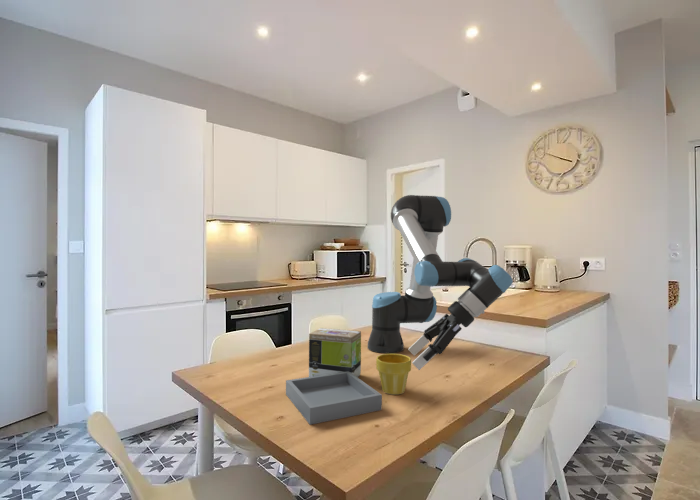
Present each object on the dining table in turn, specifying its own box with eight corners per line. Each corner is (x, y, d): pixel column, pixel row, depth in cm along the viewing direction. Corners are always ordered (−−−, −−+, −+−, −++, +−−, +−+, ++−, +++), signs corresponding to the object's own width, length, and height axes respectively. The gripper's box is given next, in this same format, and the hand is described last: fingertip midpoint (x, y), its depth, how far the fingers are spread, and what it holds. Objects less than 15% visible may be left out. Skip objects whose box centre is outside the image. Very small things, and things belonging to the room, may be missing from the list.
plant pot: (373, 384, 117) (374, 353, 117) (406, 383, 118) (406, 352, 118) (378, 397, 106) (379, 363, 106) (414, 397, 107) (415, 363, 107)
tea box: (361, 374, 126) (362, 330, 125) (351, 384, 116) (352, 337, 116) (320, 368, 131) (320, 326, 130) (307, 378, 121) (308, 332, 121)
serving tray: (285, 394, 108) (286, 380, 108) (348, 384, 117) (348, 371, 117) (309, 424, 90) (310, 408, 90) (381, 409, 99) (381, 394, 99)
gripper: (487, 327, 96) (427, 383, 98) (465, 311, 121) (417, 356, 123) (467, 306, 97) (407, 362, 98) (448, 294, 122) (401, 339, 123)
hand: (413, 359), depth 110 cm, fingers open, 13 cm apart
